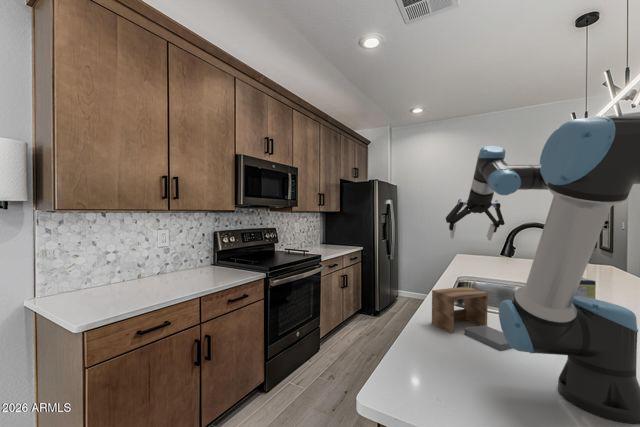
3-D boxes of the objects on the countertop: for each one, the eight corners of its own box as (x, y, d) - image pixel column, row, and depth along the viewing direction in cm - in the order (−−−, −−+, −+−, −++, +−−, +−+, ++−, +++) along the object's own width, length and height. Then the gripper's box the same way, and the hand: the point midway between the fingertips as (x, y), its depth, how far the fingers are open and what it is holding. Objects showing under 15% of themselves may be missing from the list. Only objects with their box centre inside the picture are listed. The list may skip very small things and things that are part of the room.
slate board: (521, 347, 98) (522, 340, 98) (500, 352, 94) (500, 344, 94) (484, 331, 111) (484, 324, 111) (464, 335, 107) (464, 328, 107)
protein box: (570, 306, 142) (571, 273, 142) (596, 317, 126) (596, 281, 126) (546, 304, 143) (547, 272, 143) (569, 315, 128) (569, 280, 128)
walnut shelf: (487, 326, 114) (487, 292, 114) (451, 333, 107) (452, 297, 107) (465, 318, 123) (466, 286, 123) (431, 323, 116) (432, 290, 116)
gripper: (517, 185, 106) (501, 233, 117) (443, 184, 110) (435, 230, 122) (525, 196, 99) (508, 245, 111) (447, 193, 104) (438, 241, 115)
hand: (470, 237), depth 116 cm, fingers open, 13 cm apart
